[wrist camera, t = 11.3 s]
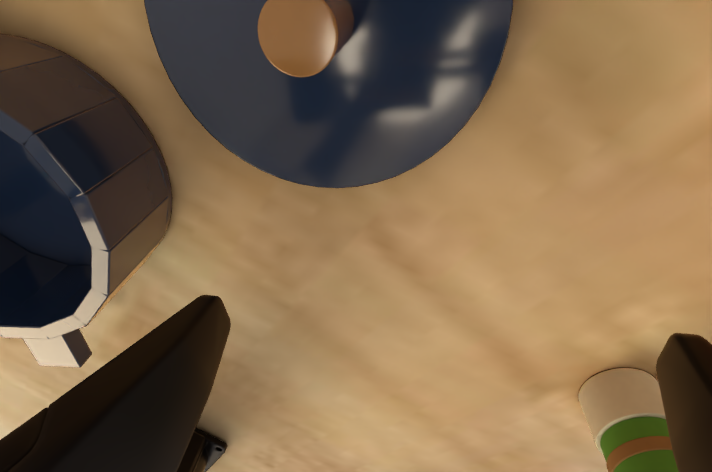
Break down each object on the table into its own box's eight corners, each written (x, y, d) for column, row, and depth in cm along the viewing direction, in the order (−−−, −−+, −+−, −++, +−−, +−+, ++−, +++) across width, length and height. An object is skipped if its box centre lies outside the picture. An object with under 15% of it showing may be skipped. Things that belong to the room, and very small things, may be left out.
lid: (204, 180, 21) (151, 234, 17) (102, -200, 14) (-32, -272, 10) (490, 176, 20) (511, 234, 15) (533, -259, 13) (598, -380, 8)
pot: (22, 304, 27) (-58, 372, 23) (-178, -28, 18) (-382, -27, 13) (210, 309, 26) (166, 383, 21) (98, -54, 16) (-25, -62, 12)
